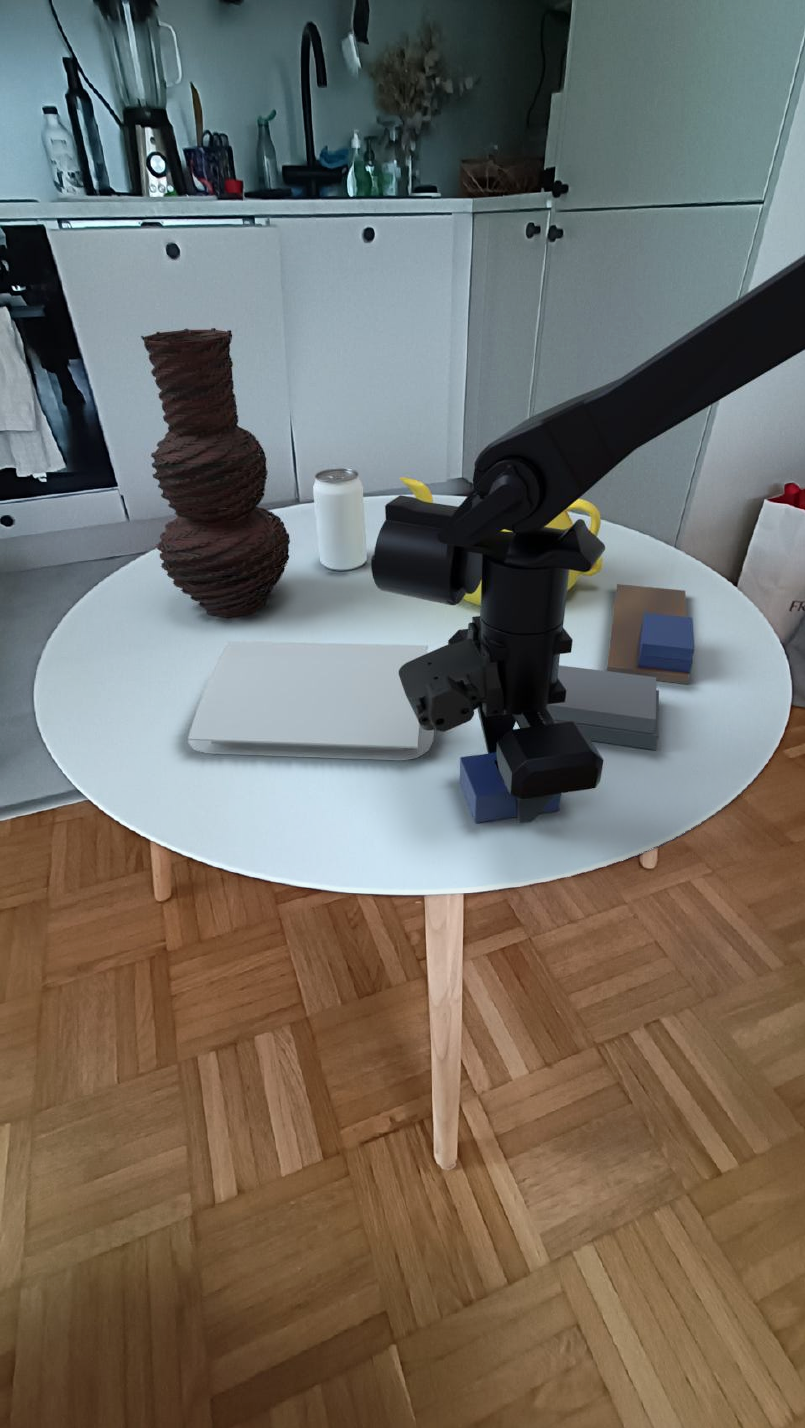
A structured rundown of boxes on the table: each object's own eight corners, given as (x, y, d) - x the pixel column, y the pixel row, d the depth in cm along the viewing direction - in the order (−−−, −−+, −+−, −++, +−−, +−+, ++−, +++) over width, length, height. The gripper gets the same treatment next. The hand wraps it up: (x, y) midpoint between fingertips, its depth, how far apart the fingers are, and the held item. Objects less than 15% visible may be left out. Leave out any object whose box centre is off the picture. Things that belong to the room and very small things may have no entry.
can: (356, 549, 103) (350, 464, 96) (374, 565, 98) (369, 477, 91) (313, 558, 100) (304, 472, 93) (330, 575, 96) (322, 485, 89)
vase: (146, 624, 86) (72, 344, 68) (211, 572, 98) (163, 323, 80) (262, 640, 82) (214, 347, 64) (315, 584, 94) (287, 324, 76)
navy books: (639, 634, 78) (643, 611, 77) (688, 639, 77) (693, 616, 75) (637, 667, 73) (642, 643, 71) (689, 673, 71) (695, 649, 70)
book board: (683, 597, 87) (685, 590, 87) (687, 684, 72) (690, 676, 71) (616, 591, 89) (617, 583, 89) (605, 674, 74) (607, 666, 73)
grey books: (656, 703, 69) (662, 675, 67) (655, 750, 63) (662, 721, 61) (541, 688, 72) (544, 661, 70) (530, 732, 66) (533, 703, 64)
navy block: (538, 771, 61) (541, 745, 60) (559, 810, 57) (563, 783, 56) (459, 782, 60) (459, 756, 59) (474, 823, 56) (476, 796, 55)
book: (227, 664, 77) (221, 632, 75) (440, 670, 75) (440, 637, 73) (178, 753, 65) (168, 717, 63) (431, 762, 63) (431, 726, 61)
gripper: (384, 572, 56) (392, 732, 65) (437, 704, 41) (437, 890, 50) (522, 557, 57) (510, 716, 66) (622, 680, 42) (589, 865, 51)
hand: (509, 786), depth 58 cm, fingers open, 8 cm apart
